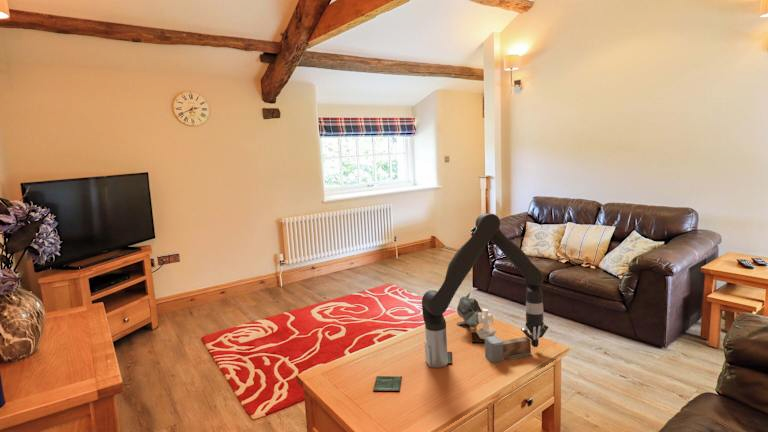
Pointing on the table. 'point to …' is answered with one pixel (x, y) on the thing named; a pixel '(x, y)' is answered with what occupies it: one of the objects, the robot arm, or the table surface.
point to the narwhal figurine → (469, 312)
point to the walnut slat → (516, 346)
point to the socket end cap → (494, 349)
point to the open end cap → (519, 355)
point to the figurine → (485, 324)
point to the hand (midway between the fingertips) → (534, 346)
